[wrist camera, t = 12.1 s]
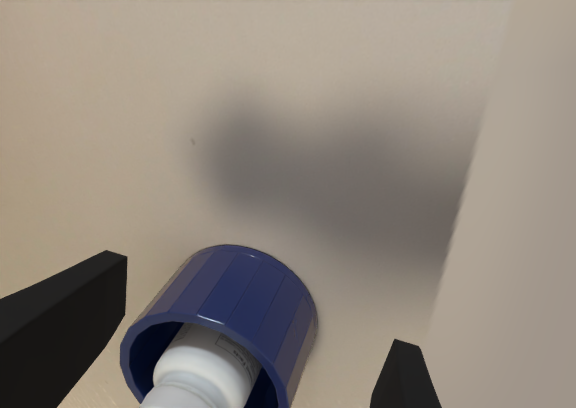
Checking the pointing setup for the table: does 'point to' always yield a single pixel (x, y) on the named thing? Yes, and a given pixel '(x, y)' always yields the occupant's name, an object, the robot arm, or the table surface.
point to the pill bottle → (202, 371)
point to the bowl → (229, 320)
